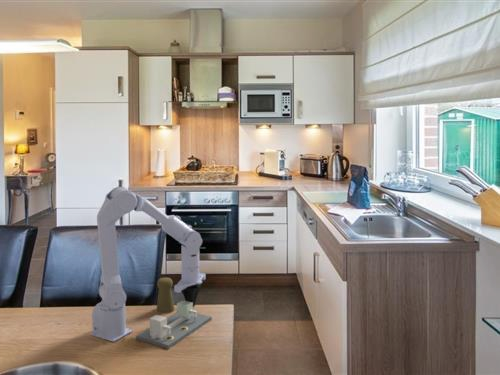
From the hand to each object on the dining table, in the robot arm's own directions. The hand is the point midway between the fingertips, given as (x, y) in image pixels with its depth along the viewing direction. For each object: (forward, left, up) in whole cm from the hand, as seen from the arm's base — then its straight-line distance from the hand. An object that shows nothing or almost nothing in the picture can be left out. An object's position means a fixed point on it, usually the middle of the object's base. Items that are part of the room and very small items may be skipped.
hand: (190, 306), depth 148 cm
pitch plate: (+1, -9, -4) cm, 10 cm away
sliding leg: (+1, -3, -2) cm, 4 cm away
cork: (-11, +1, -4) cm, 12 cm away
